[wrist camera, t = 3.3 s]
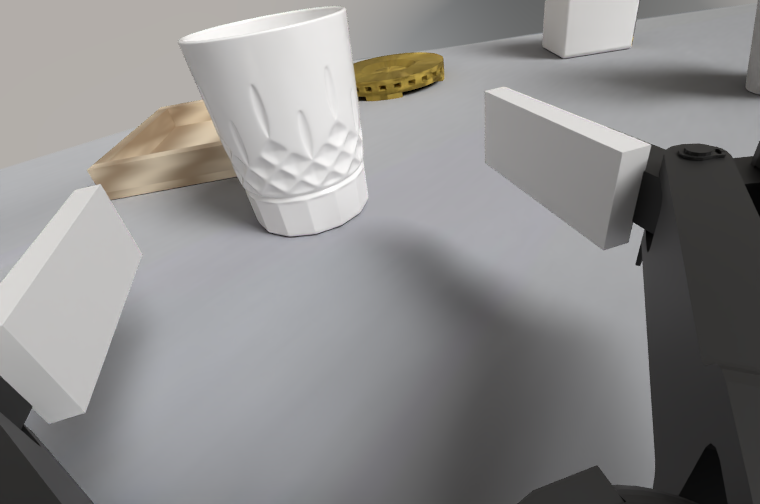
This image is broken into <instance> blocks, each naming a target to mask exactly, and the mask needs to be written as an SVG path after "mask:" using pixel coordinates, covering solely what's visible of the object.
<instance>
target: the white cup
mask: <svg viewBox="0 0 760 504" xmlns="http://www.w3.org/2000/svg"><path fill="white" fill-rule="evenodd" d="M178 44H179V46H180V49H181V51H182V53H183V55H184V57H185V60H186V62H187V64H188V67H189V69H190V71H191V74H192V76H193V78H194V80H195V83H196V85H197V87H198V89H199V92H200V94H201V97H202V99H203V101H204V104H205V106H206V108H207V110H208V113H209V115H210V117H211V120H212V122H213V124H214V127H215V129H216V131H217V134H218V136H219V138H220V140H221V143H222V145H223V147H224V149H225V151H226V153H227V155H228V157H229V158H230V160H231V163H232V166H233V169H234V171H235V173H236V175H237V177H238V179H239V181H240V183H241V184H242V186H243V187H244V188H245V191H246V194H247V196H248V199H249V201H250V203H251V206H252V208H253V210H254V213H255V215H256V218H257V220H258V222H259V223H260V224H261V225H262V226H263V227H264V228H265V229H266V230H267V231H268V232H270V233H275V234H279V235H284V236H301V235H311V234H318V233H321V232H324V231H327V230H329V229H332V228H335V227H338V226H341V225H343V224H344V223H346V222H347V221H349V220H350V219H352V218H353V217H355V216H356V215H358V214H359V213H360V212H361V211H362V209H363V207H364V206H365V204H366V202H367V201H368V190H367V183H366V177H365V170H364V162H363V152H364V147H363V139H362V129H361V121H360V113H359V101H358V94H357V87H356V79H355V72H354V65H353V57H352V50H351V43H350V36H349V28H348V20H347V12H346V8H345V7H342V6H328V7H319V8H310V9H302V10H296V11H290V12H284V13H278V14H272V15H267V16H262V17H257V18H252V19H247V20H242V21H238V22H233V23H229V24H225V25H221V26H217V27H213V28H209V29H206V30H203V31H199V32H195V33H192V34H190V35H187V36H184V37H182V38H181V39H179V40H178Z"/></svg>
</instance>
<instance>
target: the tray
mask: <svg viewBox="0 0 760 504" xmlns="http://www.w3.org/2000/svg"><path fill="white" fill-rule="evenodd" d="M87 171H88V173H89V174H90V176H91V178H92V179H93V181H94V183H95V184H96V185H98V184H101V185H102V187H103V189H104V190H105V192H106V194H107V195H108V197H109V199H110V200H113V199H118V198H124V197H129V196H134V195H140V194H145V193H151V192H156V191H162V190H167V189H172V188H178V187H183V186H189V185H194V184H199V183H205V182H210V181H216V180H221V179H227V178H232V177H237V175H236V173H235V171H234V169H233V166H232V163H231V160H230V158H229V157H228V155H227V153H226V151H225V149H224V147H223V145H222V143H221V140H220V138H219V136H218V134H217V131H216V129H215V127H214V124H213V122H212V120H211V117H210V115H209V113H208V110H207V108H206V106H205V104H204V101H203V100H199V101H193V102H187V103H182V104H177V105H171V106H166V107H161V108H160V109H158V110H157V111H156V112H155V113H154V114H153V115H151V116H150V117H149V118H148V119H147V120H146V121H144V122H143V123H142V124H141V125H140V126H138V127H137V128H136V129H135V130H134V131H132V132H131V133H130V134H129V135H128V136H127V137H125V138H124V139H123V140H122V141H121V142H119V143H118V144H117V145H116V146H115V147H114V148H112V149H111V150H110V151H109V152H108V153H106V154H105V155H104V156H103V157H102V158H101V159H99V160H98V161H97V162H96V163H95V164H93V165H92V166H91V167H90V168H89V169H88V170H87Z"/></svg>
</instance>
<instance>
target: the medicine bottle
mask: <svg viewBox="0 0 760 504" xmlns="http://www.w3.org/2000/svg"><path fill="white" fill-rule="evenodd" d="M639 3H640V0H545V11H544V27H543V40H542V46H543V47H544V48H545V49H547V50H549V51H551V52H553V53H554V54H556V55H558V56H560V57H562V58H571V57H577V56H584V55H590V54H597V53H603V52H609V51H616V50H622V49H628V48H630V47H631V46H632V42H633V36H634V31H635V25H636V20H637V14H638V9H639Z"/></svg>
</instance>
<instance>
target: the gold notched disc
mask: <svg viewBox="0 0 760 504" xmlns="http://www.w3.org/2000/svg"><path fill="white" fill-rule="evenodd" d="M353 65H354V72H355V79H356V87H357V94H358V97H366V100H367V101H379V100H388V99H394V98H400V97H403V95H402V92H405V91H410V90H414V89H417V88H420V87H423V86H426V85H429V84H431V83H433V82H435V81H443V80H444V62H443V57H442V56H441V55H438V54H434V53H422V52H418V53H402V54H394V55H387V56H381V57H376V58H372V59H368V60H364V61H360V62H357V63H354V64H353Z"/></svg>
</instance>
